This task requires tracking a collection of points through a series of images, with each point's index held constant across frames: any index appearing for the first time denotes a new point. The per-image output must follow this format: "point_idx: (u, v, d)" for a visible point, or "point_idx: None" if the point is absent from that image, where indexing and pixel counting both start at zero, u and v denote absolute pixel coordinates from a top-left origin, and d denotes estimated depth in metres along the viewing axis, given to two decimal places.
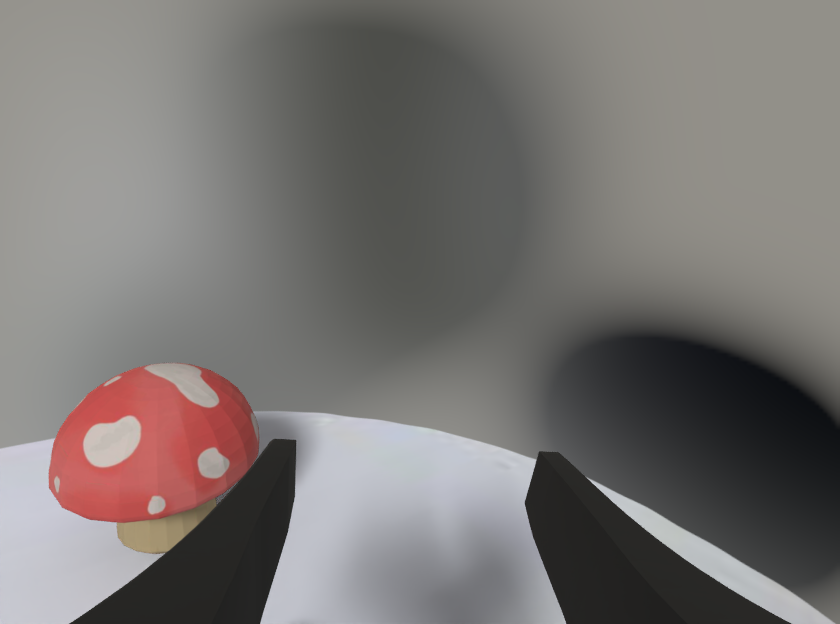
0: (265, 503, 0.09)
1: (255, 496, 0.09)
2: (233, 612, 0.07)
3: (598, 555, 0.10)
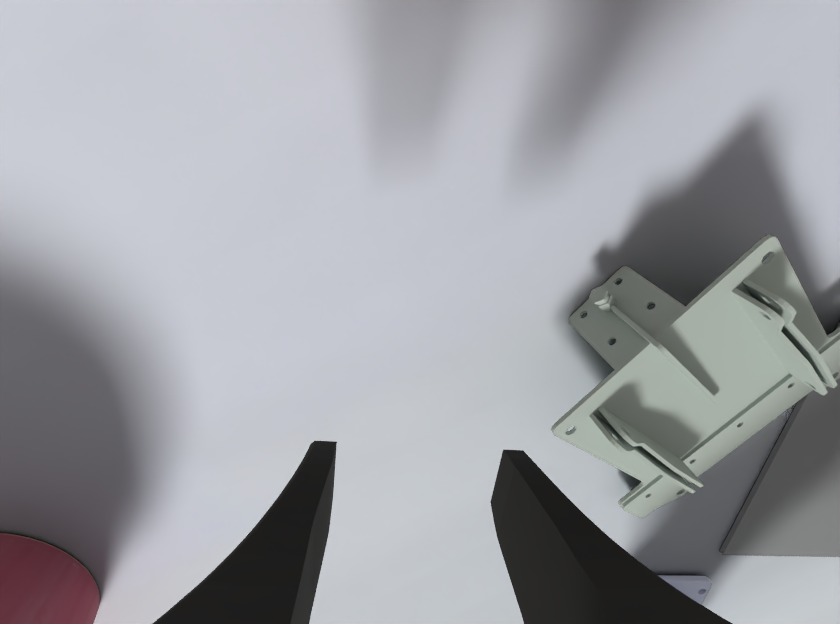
0: (318, 505, 0.09)
1: (307, 498, 0.09)
2: (299, 612, 0.07)
3: (551, 554, 0.10)
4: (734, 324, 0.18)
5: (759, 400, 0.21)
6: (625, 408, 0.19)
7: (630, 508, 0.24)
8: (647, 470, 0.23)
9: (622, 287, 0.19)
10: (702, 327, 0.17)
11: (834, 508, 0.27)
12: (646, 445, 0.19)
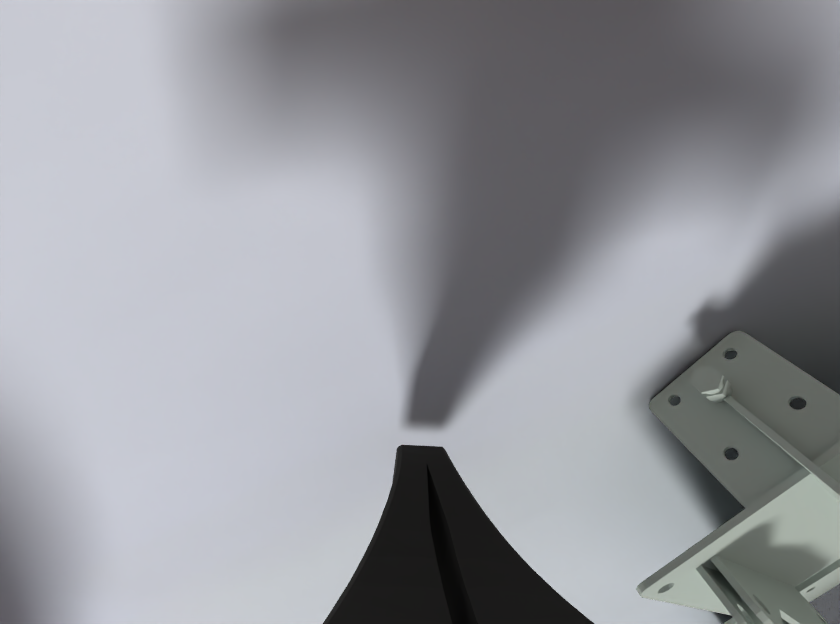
0: (428, 508, 0.10)
1: (416, 501, 0.10)
2: None
3: (444, 553, 0.09)
4: None
5: None
6: (747, 551, 0.12)
7: None
8: None
9: (738, 365, 0.13)
10: None
11: None
12: (782, 611, 0.12)
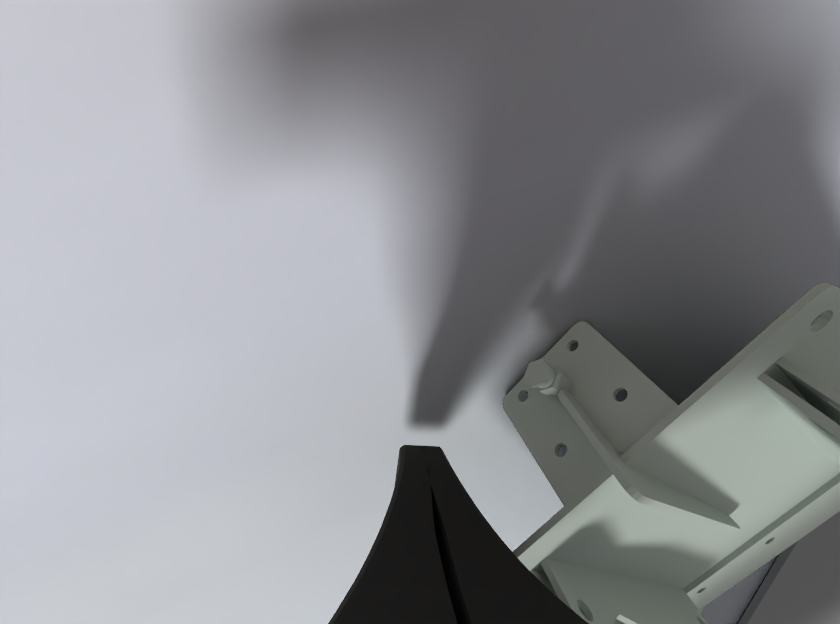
0: (432, 508, 0.10)
1: (420, 501, 0.10)
2: None
3: (440, 552, 0.09)
4: (761, 423, 0.11)
5: (798, 509, 0.14)
6: (588, 553, 0.12)
7: None
8: None
9: (578, 356, 0.12)
10: (707, 435, 0.10)
11: None
12: (624, 616, 0.11)
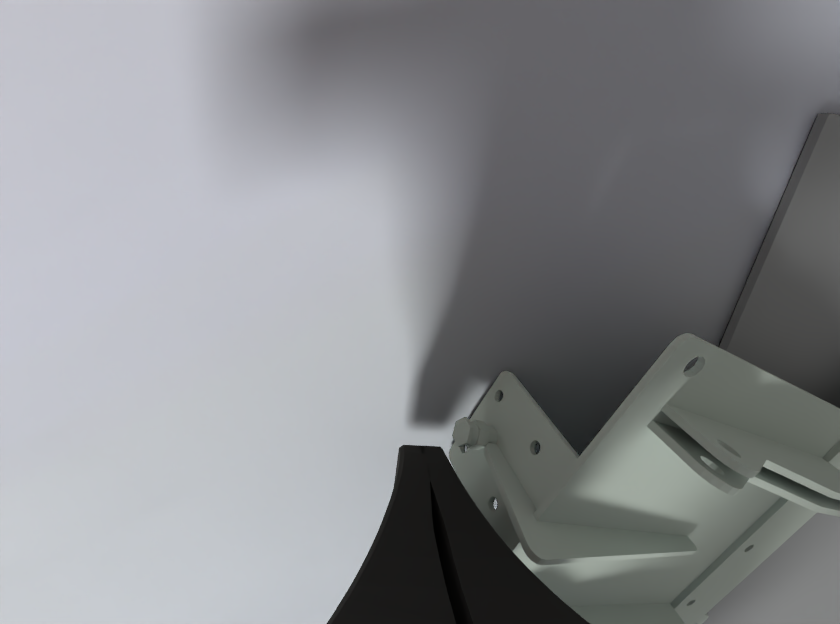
0: (431, 508, 0.10)
1: (419, 501, 0.10)
2: None
3: (441, 552, 0.09)
4: (677, 458, 0.11)
5: (768, 516, 0.14)
6: None
7: None
8: None
9: (503, 408, 0.13)
10: (618, 480, 0.10)
11: None
12: None
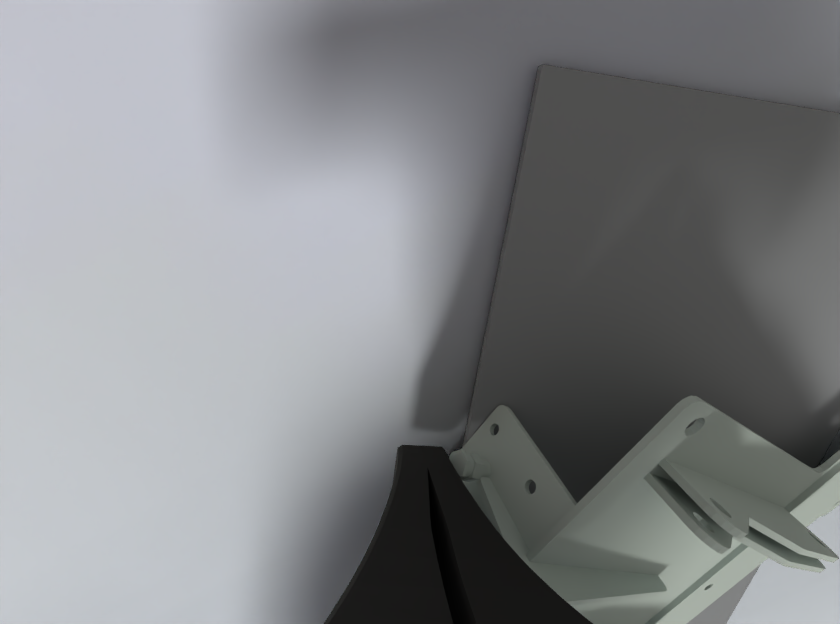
0: (429, 508, 0.10)
1: (417, 501, 0.10)
2: None
3: (443, 553, 0.09)
4: (663, 506, 0.11)
5: (730, 558, 0.15)
6: None
7: None
8: None
9: (498, 442, 0.13)
10: (609, 525, 0.11)
11: None
12: None
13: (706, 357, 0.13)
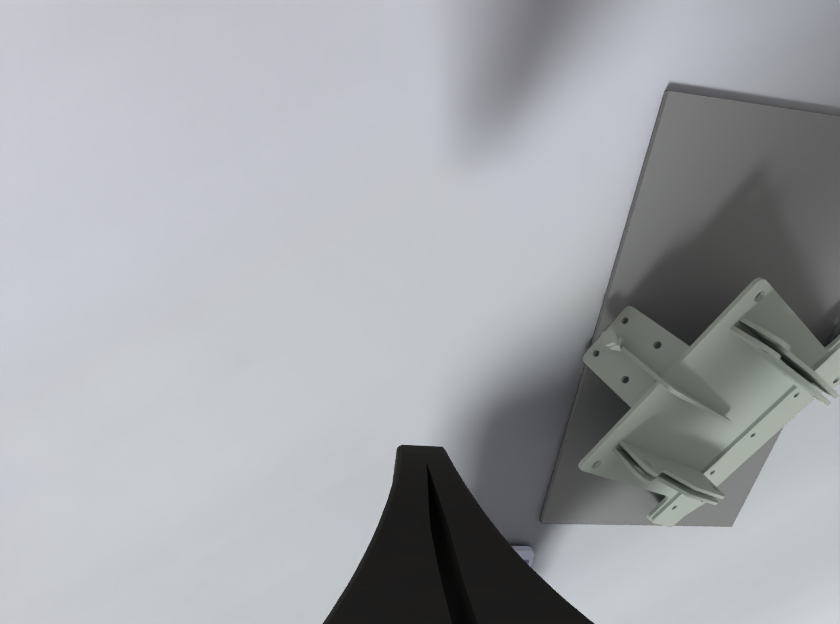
0: (428, 508, 0.10)
1: (416, 501, 0.10)
2: None
3: (444, 553, 0.09)
4: (736, 354, 0.19)
5: (768, 411, 0.23)
6: (644, 438, 0.20)
7: (659, 520, 0.26)
8: None
9: (629, 326, 0.21)
10: (707, 361, 0.19)
11: None
12: (667, 471, 0.20)
13: (753, 269, 0.21)
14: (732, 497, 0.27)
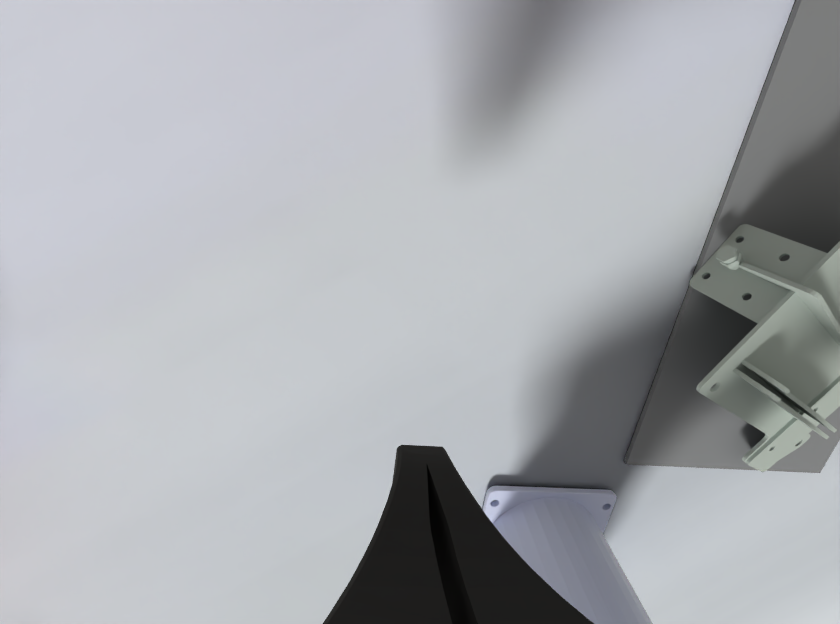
0: (428, 508, 0.10)
1: (416, 501, 0.10)
2: None
3: (444, 553, 0.09)
4: None
5: None
6: (764, 360, 0.19)
7: (754, 463, 0.24)
8: (773, 423, 0.23)
9: (746, 244, 0.20)
10: None
11: None
12: (790, 393, 0.19)
13: None
14: (824, 440, 0.26)
